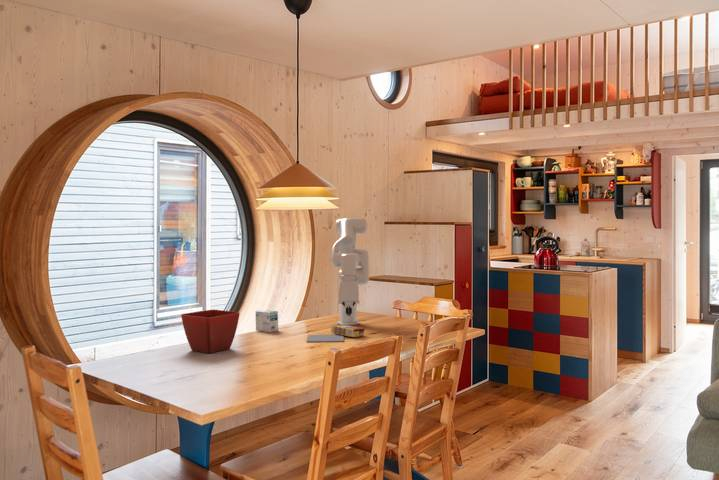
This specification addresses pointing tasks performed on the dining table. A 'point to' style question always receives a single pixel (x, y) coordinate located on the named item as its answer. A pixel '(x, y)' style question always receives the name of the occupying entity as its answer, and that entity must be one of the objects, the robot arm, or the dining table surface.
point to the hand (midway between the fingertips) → (348, 315)
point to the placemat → (325, 338)
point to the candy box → (347, 330)
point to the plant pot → (210, 329)
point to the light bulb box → (266, 320)
